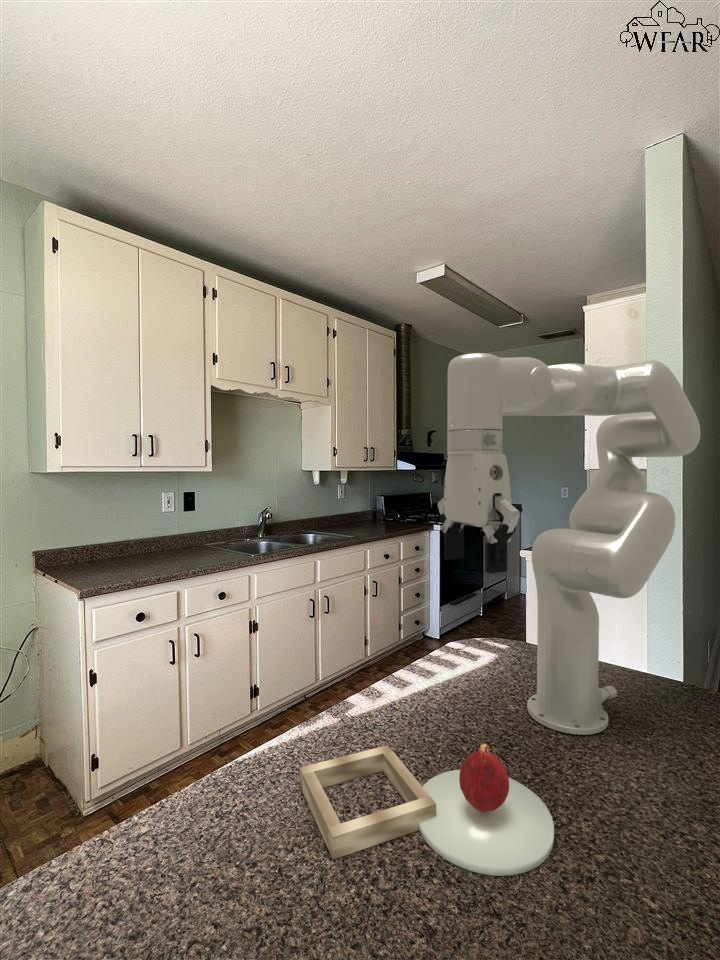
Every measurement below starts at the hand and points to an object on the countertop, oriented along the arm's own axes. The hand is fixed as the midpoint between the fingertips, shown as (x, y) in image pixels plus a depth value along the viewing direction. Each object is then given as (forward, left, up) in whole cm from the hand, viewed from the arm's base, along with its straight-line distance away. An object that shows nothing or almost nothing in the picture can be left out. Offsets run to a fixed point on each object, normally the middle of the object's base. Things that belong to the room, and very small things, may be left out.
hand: (473, 565), depth 69 cm
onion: (+6, +10, -28) cm, 30 cm away
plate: (+6, +10, -28) cm, 31 cm away
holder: (+18, +2, -28) cm, 34 cm away
